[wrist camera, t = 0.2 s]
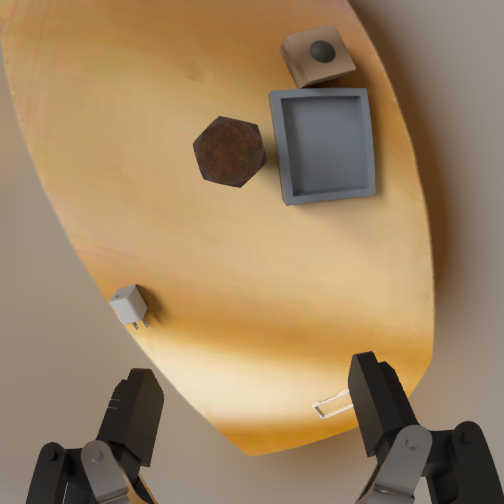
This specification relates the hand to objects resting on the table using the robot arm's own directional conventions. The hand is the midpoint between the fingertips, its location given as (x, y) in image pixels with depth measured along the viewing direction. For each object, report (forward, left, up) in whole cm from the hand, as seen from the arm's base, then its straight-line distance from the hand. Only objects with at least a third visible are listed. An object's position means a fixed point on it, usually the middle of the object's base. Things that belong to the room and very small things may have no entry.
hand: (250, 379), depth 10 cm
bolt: (-7, 0, -29) cm, 30 cm away
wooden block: (-18, +11, -29) cm, 35 cm away
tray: (-7, +11, -29) cm, 31 cm away
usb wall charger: (+13, -20, -29) cm, 38 cm away
